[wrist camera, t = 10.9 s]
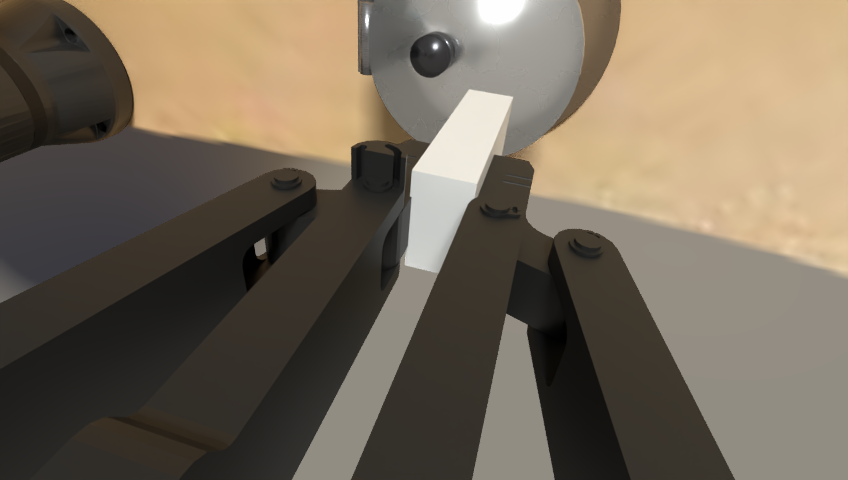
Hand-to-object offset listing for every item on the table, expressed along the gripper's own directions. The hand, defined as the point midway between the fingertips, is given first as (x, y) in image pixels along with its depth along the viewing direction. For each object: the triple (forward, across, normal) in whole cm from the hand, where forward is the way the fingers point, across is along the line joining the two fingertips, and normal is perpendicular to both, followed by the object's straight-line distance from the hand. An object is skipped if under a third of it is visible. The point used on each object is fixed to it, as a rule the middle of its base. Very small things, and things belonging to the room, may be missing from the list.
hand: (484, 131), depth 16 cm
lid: (+15, -4, -1) cm, 16 cm away
